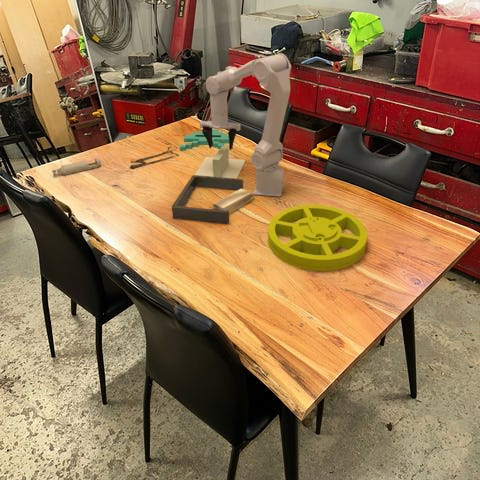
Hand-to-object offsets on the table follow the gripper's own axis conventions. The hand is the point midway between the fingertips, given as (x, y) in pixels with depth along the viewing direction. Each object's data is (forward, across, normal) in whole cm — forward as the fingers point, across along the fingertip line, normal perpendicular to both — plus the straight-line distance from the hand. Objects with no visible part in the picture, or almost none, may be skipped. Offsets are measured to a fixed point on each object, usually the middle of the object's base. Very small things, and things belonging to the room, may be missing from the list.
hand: (221, 147), depth 158 cm
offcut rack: (+9, +3, -24) cm, 26 cm away
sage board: (+9, 0, 0) cm, 9 cm away
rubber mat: (+9, -1, 0) cm, 9 cm away
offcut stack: (+10, +11, -24) cm, 28 cm away
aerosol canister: (+10, -54, -12) cm, 56 cm away
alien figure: (+10, -14, +25) cm, 31 cm away
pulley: (+10, +40, -37) cm, 55 cm away
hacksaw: (+10, -30, +6) cm, 32 cm away
